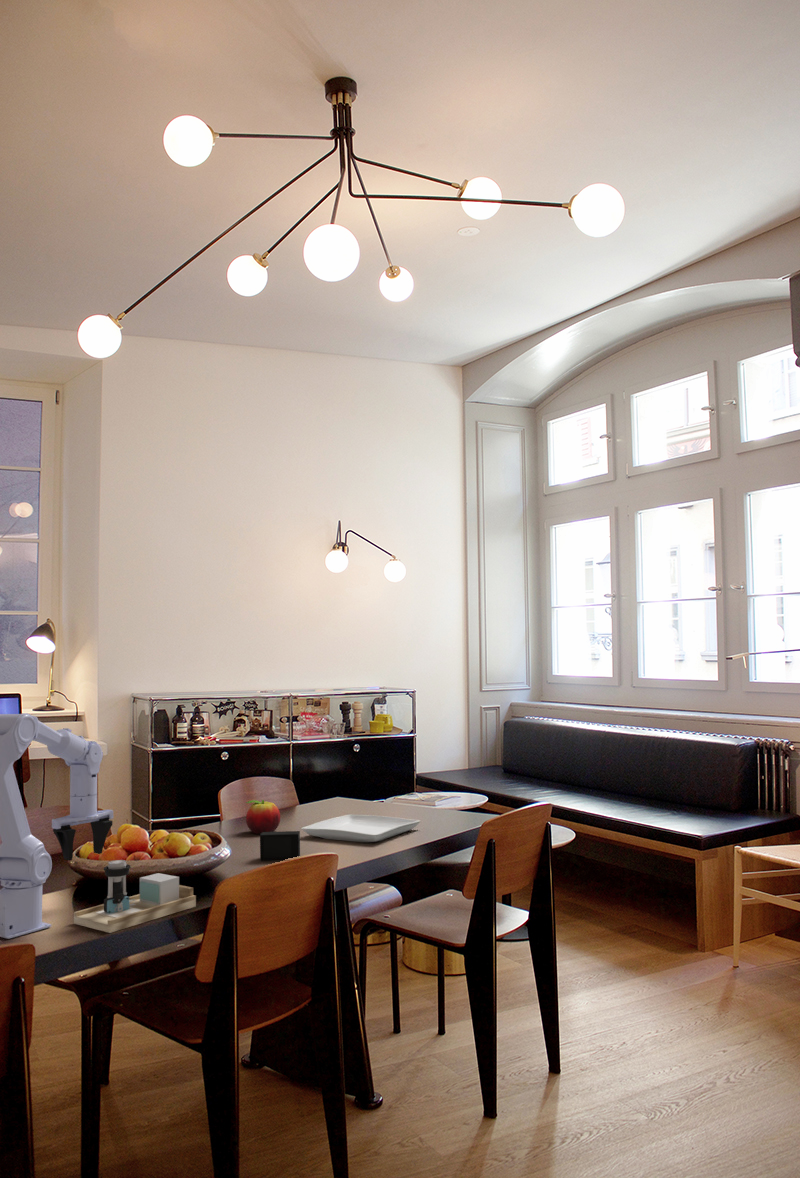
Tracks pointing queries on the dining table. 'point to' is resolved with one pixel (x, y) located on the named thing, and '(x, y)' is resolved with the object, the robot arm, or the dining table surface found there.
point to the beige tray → (133, 912)
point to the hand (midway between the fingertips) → (83, 856)
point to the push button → (117, 887)
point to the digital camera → (279, 845)
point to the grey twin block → (159, 889)
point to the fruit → (262, 817)
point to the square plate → (360, 827)
